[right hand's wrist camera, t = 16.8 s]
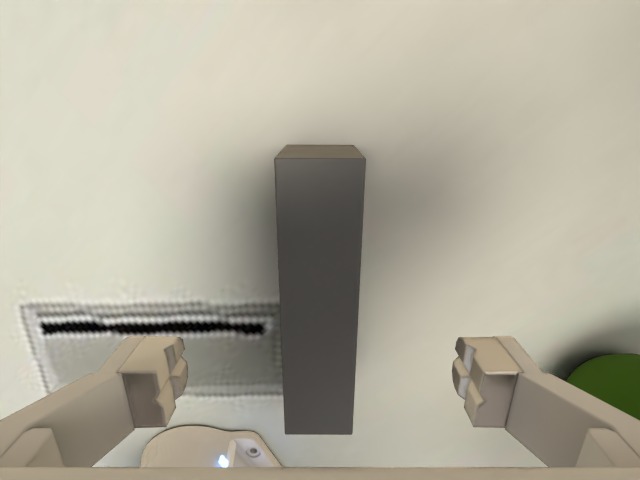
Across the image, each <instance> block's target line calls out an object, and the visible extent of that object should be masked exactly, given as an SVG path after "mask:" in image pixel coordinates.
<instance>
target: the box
mask: <svg viewBox="0 0 640 480" xmlns="http://www.w3.org/2000/svg"><path fill="white" fill-rule="evenodd" d="M274 162H275V188H276V214H277V240H278V266H279V292H280V318H281V344H282V370H283V396H284V422H285V434H339V435H351V434H352V430H353V409H354V389H355V369H356V348H357V328H358V308H359V287H360V267H361V247H362V226H363V206H364V186H365V165H366V159H365V158H364V157H363V155H362V154H361V153H360V152H359V151H358V150H357V149H356V148H355V146H354V145H286V146H285V147H284V148H283V150H282V151H281V152H280V153H279V154H278V155H277V156H276V157H275V159H274Z"/></svg>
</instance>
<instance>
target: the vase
mask: <svg viewBox="0 0 640 480" xmlns="http://www.w3.org/2000/svg"><path fill="white" fill-rule="evenodd" d="M566 382H567V383H569V384H571V385H573V386H575V387H577V388H579V389H581V390H583V391H584V392H586V393H588V394H590V395H592V396H594V397H596V398H598V399H600V400H602V401H603V402H605V403H607V404H609V405H611V406H613V407H615V408H617V409H619V410H621V411H623V412H624V413H626V414H628V415H630V416H632V417H634V418H636V419H638V420H640V355H636V354H608V355H603V356H599V357H596V358H593V359H590V360H588V361H586V362H585V363H583V364H582V365H580V366H579V367H577V368H576V369H575V370H574V371H573V372H572V373H571V374H570V376H569V377H568V378H567V380H566Z"/></svg>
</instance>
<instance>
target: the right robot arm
mask: <svg viewBox="0 0 640 480" xmlns="http://www.w3.org/2000/svg"><path fill="white" fill-rule="evenodd" d="M184 350H185V348H184V343H183V339H182V338H180V337H156V336H147V337H146V336H130V337H127V338H126V339H125V340H124V341H123V342H122V343H121V344H120V345H119V347H118V348H117V349H116V350H115V351H114V353H113V354H112V355H111V356H110V357H109V358H108V360H107V361H106V362H105V363H104V364H103V365H102V367H101V368H100V369H99V370H98V371H97V373H90V374H88V375H86V376H84V377H82V378H80V379H78V380H77V381H75V382H73V383H71V384H69V385H67V386H65V387H63V388H61V389H59V390H57V391H55V392H54V393H52V394H50V395H48V396H46V397H44V398H42V399H40V400H38V401H36V402H34V403H33V404H31V405H29V406H27V407H25V408H23V409H21V410H19V411H17V412H15V413H13V414H12V415H10V416H8V417H6V418H4V419H2V420H0V480H640V420H638V419H636V418H634V417H632V416H630V415H628V414H626V413H624V412H623V411H621V410H619V409H617V408H615V407H613V406H611V405H609V404H607V403H605V402H603V401H602V400H600V399H598V398H596V397H594V396H592V395H590V394H588V393H586V392H584V391H583V390H581V389H579V388H577V387H575V386H573V385H571V384H569V383H567V382H565V381H563V380H562V379H560V378H558V377H556V376H554V375H552V374H550V373H543V371H542V370H541V369H540V368H539V367H538V365H537V364H536V363H535V362H534V361H533V360H532V358H531V357H530V356H529V355H528V354H527V353H526V351H525V350H524V349H523V348H522V347H521V346H520V344H519V343H518V342H517V341H516V340H515V338H513V337H511V336H495V337H459V338H458V340H457V342H456V347H455V350H456V351H457V353H458V355H459V356H458V357H457V358H456V359H455V360H454V361H453V367H452V376H453V383H454V386H455V389H456V391H457V394H458V395H459V396H460V397H462V398H463V399H464V400H465V405H464V408H465V410H466V412H467V414H468V416H469V418H470V420H471V423H472V425H473V427H493V428H505V430H507V431H508V432H509V433H510V434H511V435H512V436H514V437H515V438H516V439H517V440H518V441H519V442H520V443H522V444H523V445H524V446H525V447H526V448H527V449H529V450H530V451H531V452H532V453H533V454H534V455H535V456H537V457H538V458H539V459H540V460H541V461H542V462H544V463H545V464H546V465H547V466H548V467H282V466H281V465H280V464H279V462H278V461H277V460H276V458H275V457H274V455H273V454H272V453H271V451H270V450H269V449H268V447H267V446H266V444H265V443H264V442H263V440H262V439H261V438H260V436H259V435H258V434H257V433H255V432H251V431H233V432H229V431H223V430H219V429H215V428H210V427H204V426H183V427H177V428H173V429H170V430H167V431H164V432H162V433H160V434H159V435H157V436H156V437H154V438H153V439H152V440H151V441H150V442H149V443H148V444H147V446H146V447H145V449H144V451H143V453H142V457H141V464H140V467H92V466H93V465H94V464H95V463H97V462H98V461H99V460H100V459H101V458H102V457H103V456H105V455H106V454H107V453H108V452H109V451H110V450H112V449H113V448H114V447H115V446H116V445H117V444H119V443H120V442H121V441H122V440H123V439H124V438H125V437H127V436H128V435H129V434H130V433H131V432H132V431H134V430H135V428H147V427H167V425H168V423H169V421H170V418H171V416H172V414H173V412H174V410H175V408H176V405H175V400H176V399H177V398H178V397H180V396H181V395H182V394H183V391H184V389H185V387H186V382H187V378H188V366H187V361H186V360H185V359H184V358H183V357H182V356H181V355H182V353H183V351H184Z"/></svg>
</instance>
